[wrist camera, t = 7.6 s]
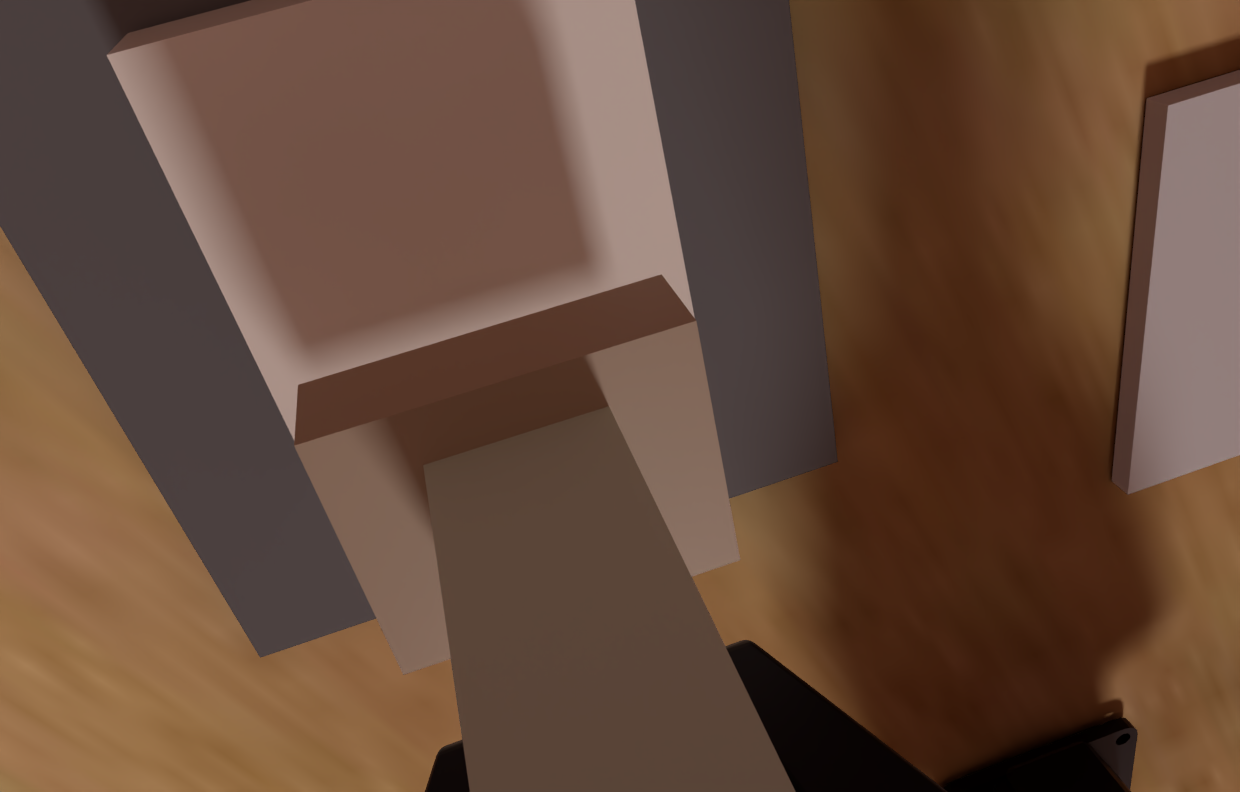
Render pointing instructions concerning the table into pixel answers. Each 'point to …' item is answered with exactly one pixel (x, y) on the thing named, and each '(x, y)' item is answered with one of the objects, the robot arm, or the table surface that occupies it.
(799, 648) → the table surface
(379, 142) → the tile
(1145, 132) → the pad
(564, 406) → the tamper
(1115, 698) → the table surface
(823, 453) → the mat
